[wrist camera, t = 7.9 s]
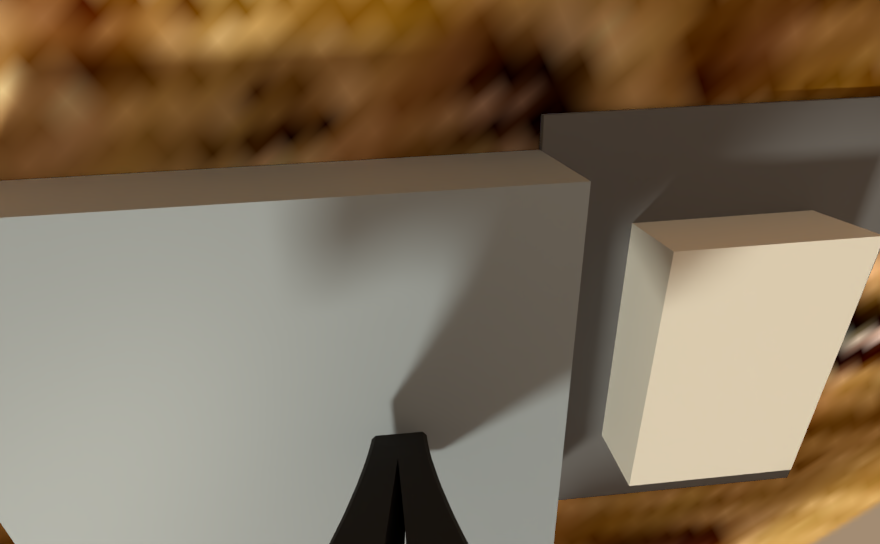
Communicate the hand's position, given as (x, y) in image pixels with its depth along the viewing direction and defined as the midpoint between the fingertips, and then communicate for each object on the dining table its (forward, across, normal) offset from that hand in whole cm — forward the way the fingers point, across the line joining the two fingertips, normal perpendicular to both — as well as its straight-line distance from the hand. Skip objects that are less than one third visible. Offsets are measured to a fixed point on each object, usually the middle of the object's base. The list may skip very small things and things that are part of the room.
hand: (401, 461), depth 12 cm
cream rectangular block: (+2, -11, 0) cm, 11 cm away
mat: (+5, -11, 0) cm, 12 cm away
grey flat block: (+5, +3, 0) cm, 6 cm away
